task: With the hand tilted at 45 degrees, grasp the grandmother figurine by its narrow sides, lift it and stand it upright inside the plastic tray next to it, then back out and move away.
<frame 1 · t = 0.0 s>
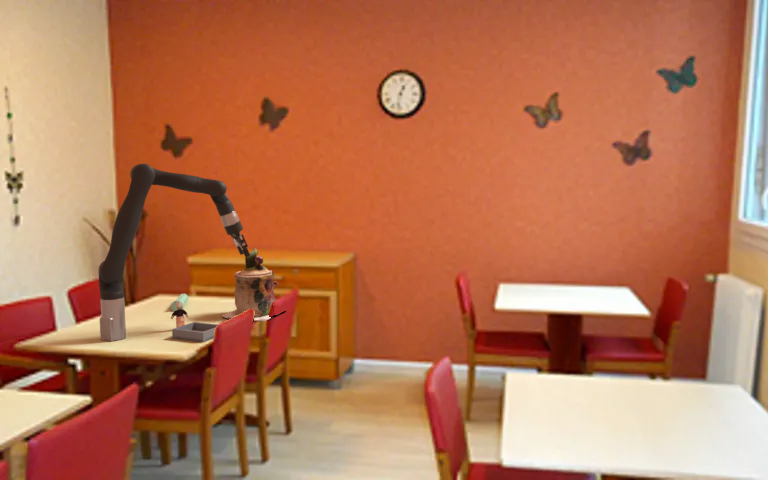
hand: (245, 255, 305), 31 cm above the table, tool tilted 20°, fingers open, 8 cm apart
grandmother figurine: (180, 330, 297), on the table
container: (181, 307, 347), on the table
cookie jar: (255, 315, 326), on the table
tray: (198, 336, 286), on the table
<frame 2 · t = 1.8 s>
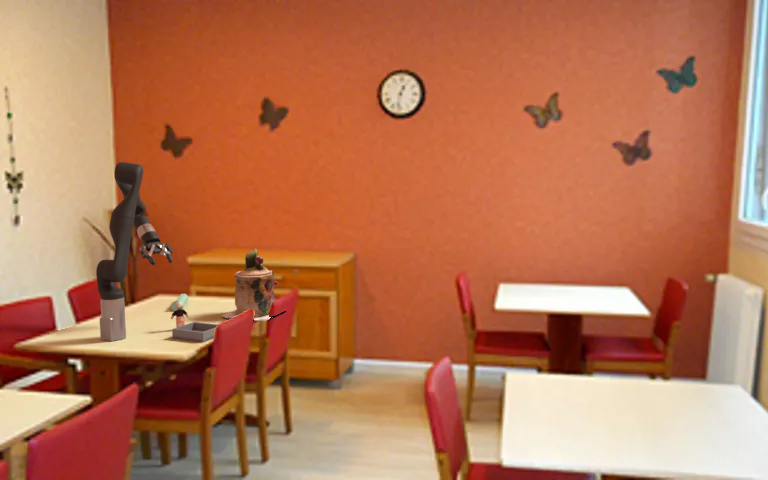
hand: (162, 263, 303), 28 cm above the table, tool tilted 45°, fingers open, 8 cm apart
nothing on the table moved.
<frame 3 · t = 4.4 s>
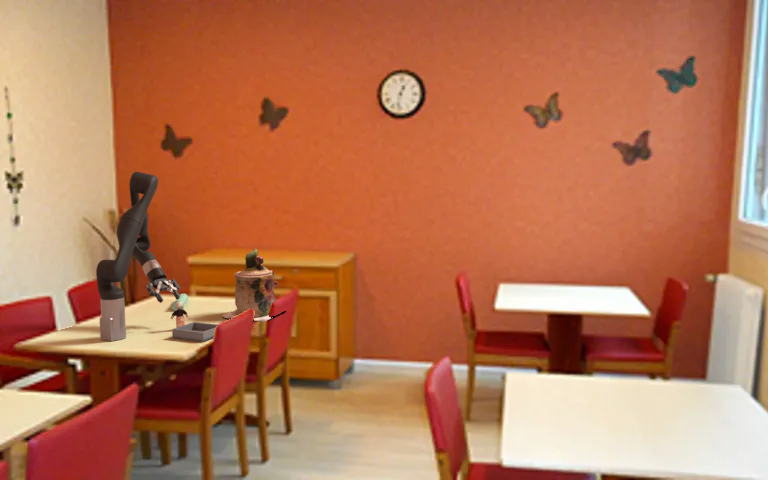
hand: (170, 300, 300), 13 cm above the table, tool tilted 45°, fingers open, 8 cm apart
nothing on the table moved.
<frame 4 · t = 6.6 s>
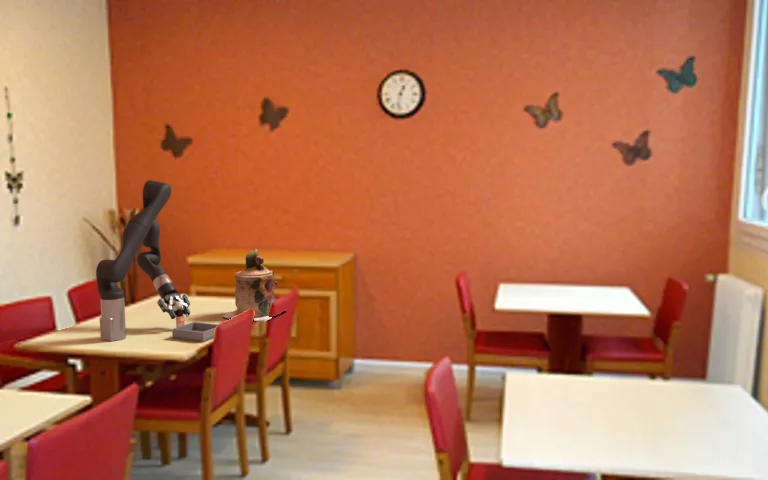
hand: (181, 316, 296), 6 cm above the table, tool tilted 45°, fingers closed on grandmother figurine, 6 cm apart
grandmother figurine: (180, 330, 297), on the table, touching gripper
everything else where it was.
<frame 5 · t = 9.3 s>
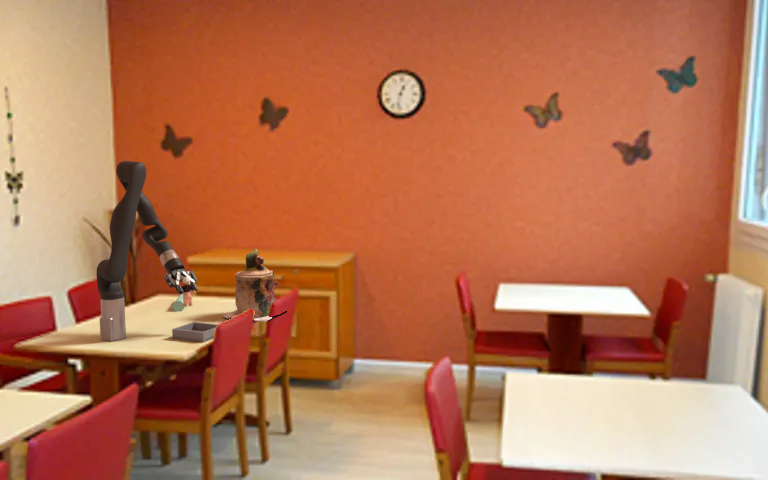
hand: (189, 292, 290), 18 cm above the table, tool tilted 45°, fingers closed on grandmother figurine, 6 cm apart
grandmother figurine: (187, 306, 291), point 12 cm above the table, touching gripper
everything else where it was.
when the fingers open (9 cm above the table, at t = 12.3 s): grandmother figurine drops 1 cm, resting on tray.
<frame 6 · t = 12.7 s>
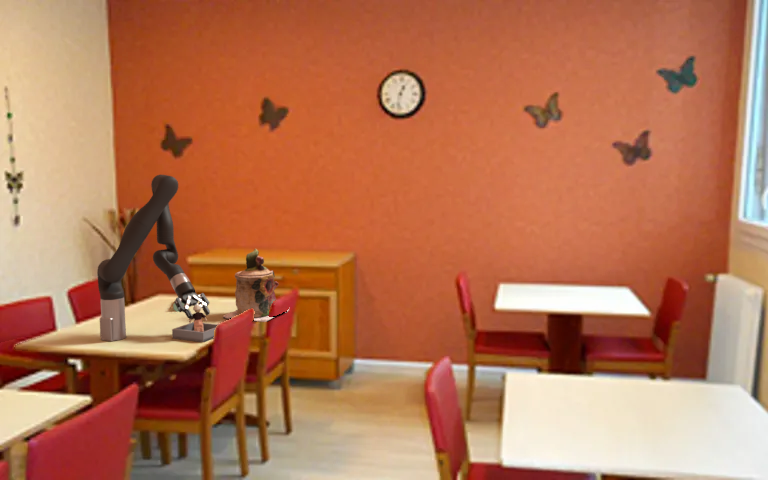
hand: (199, 316, 284), 9 cm above the table, tool tilted 45°, fingers open, 8 cm apart
grandmother figurine: (198, 334, 286), point 1 cm above the table, touching tray
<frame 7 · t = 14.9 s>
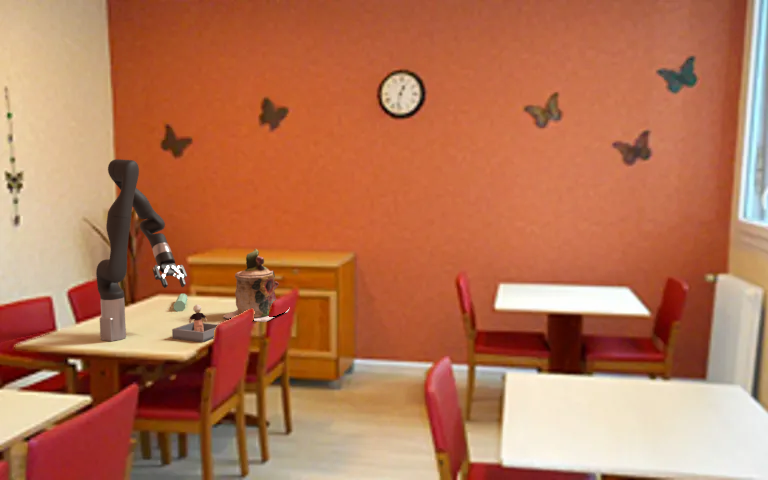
hand: (175, 286, 291), 20 cm above the table, tool tilted 40°, fingers open, 8 cm apart
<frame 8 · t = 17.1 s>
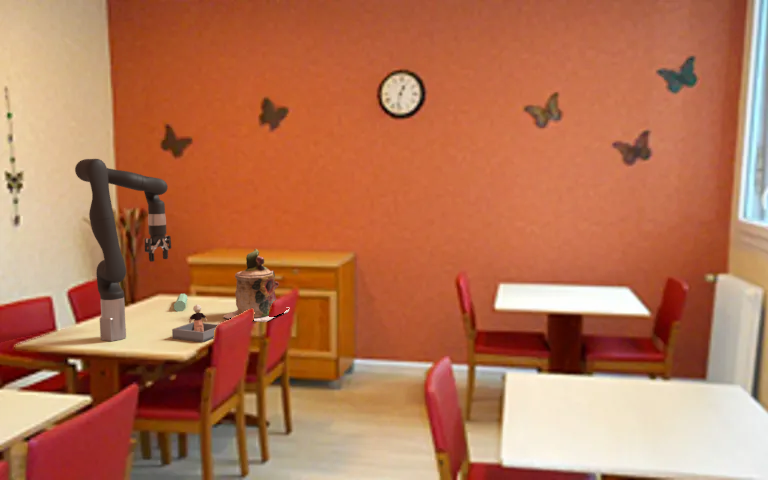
hand: (158, 260, 300), 30 cm above the table, tool pointing down, fingers open, 8 cm apart
at the end: grandmother figurine inside the target area on the tray (0.2 cm from its centre), point 0.8 cm above the tray's base; grandmother figurine tilted 0°; the gripper is holding nothing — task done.
